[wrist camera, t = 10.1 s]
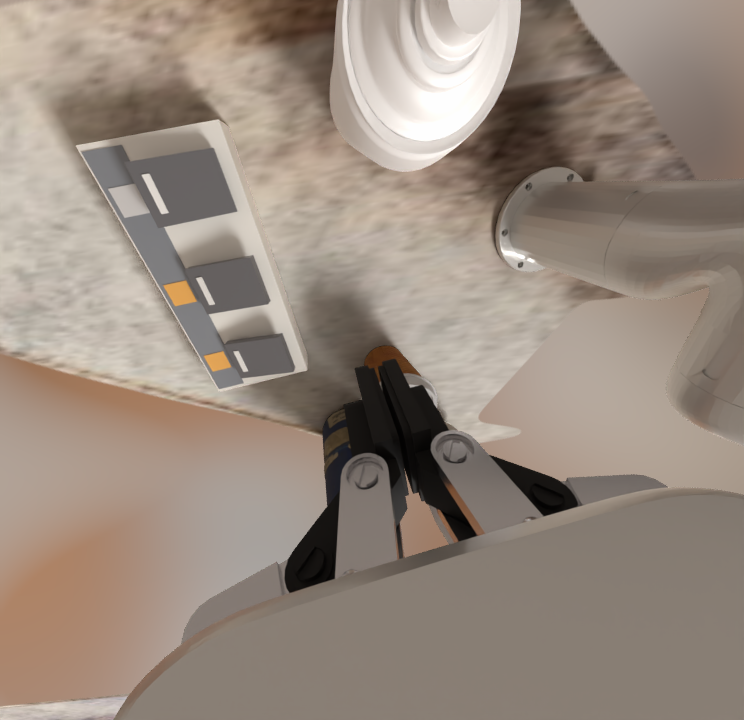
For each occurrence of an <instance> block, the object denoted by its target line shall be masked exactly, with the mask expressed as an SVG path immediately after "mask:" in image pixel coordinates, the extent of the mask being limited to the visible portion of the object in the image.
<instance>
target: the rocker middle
mask: <svg viewBox="0 0 744 720" xmlns="http://www.w3.org/2000/svg"><path fill="white" fill-rule="evenodd" d="M184 270H185V272H186V274H187V276H188V278H189V280H190V282H191V284H192V286H193V288H194V290H195V292H196V294H197V296H198V297H199V299H200V301H201V303H202V305H203V307H204V309H205V311H206V313H207V315H208V314H214V313H220V312H226V311H232V310H237V309H243V308H249V307H255V306H261V305H267V304H269V302H270V301H271V300H270V298H269V295H268V293H267V290H266V287H265V285H264V282H263V279H262V277H261V274H260V271H259V269H258V266H257V263H256V261H255V258H254V256H253V255H251V256H245V257H240V258H234V259H229V260H223V261H218V262H213V263H207V264H202V265H196V266H191V267H188V268H186V269H184Z"/></svg>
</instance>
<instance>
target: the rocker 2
mask: <svg viewBox="0 0 744 720" xmlns="http://www.w3.org/2000/svg"><path fill="white" fill-rule="evenodd" d="M224 346H225V348H226V350H227V352H228V354H229V356H230V358H231V360H232V362H233V364H234V366H235V368H236V370H237V372H238V374H239V376H240V377H241V378H249V377H258V376H266V375H274V374H282V373H290V372H294V370H295V365H294V362H293V360H292V357H291V354H290V352H289V349H288V346H287V344H286V341H285V339H284V336H283V333H279V334H272V335H265V336H258V337H251V338H244V339H237V340H229V341H227V342H226V343H225V344H224Z"/></svg>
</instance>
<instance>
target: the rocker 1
mask: <svg viewBox="0 0 744 720" xmlns="http://www.w3.org/2000/svg"><path fill="white" fill-rule="evenodd" d="M124 164H125V166H126V168H127V169H128V171H129V173H130V175H131V177H132V179H133V181H134V183H135V185H136V187H137V189H138V190H139V192H140V194H141V196H142V198H143V200H144V202H145V204H146V206H147V208H148V209H149V211H150V213H151V215H152V217H153V219H154V221H155V223H156V225H157V227H158V228H162V227H167V226H172V225H176V224H181V223H186V222H191V221H195V220H200V219H205V218H210V217H214V216H219V215H224V214H229V213H233V212H238V210H237V208H236V205H235V202H234V200H233V197H232V194H231V192H230V189H229V186H228V184H227V181H226V178H225V176H224V173H223V170H222V168H221V165H220V162H219V160H218V157H217V154H216V152H215V149H214V148H208V149H202V150H196V151H189V152H183V153H177V154H171V155H165V156H159V157H153V158H147V159H141V160H135V161H129V162H124Z"/></svg>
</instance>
